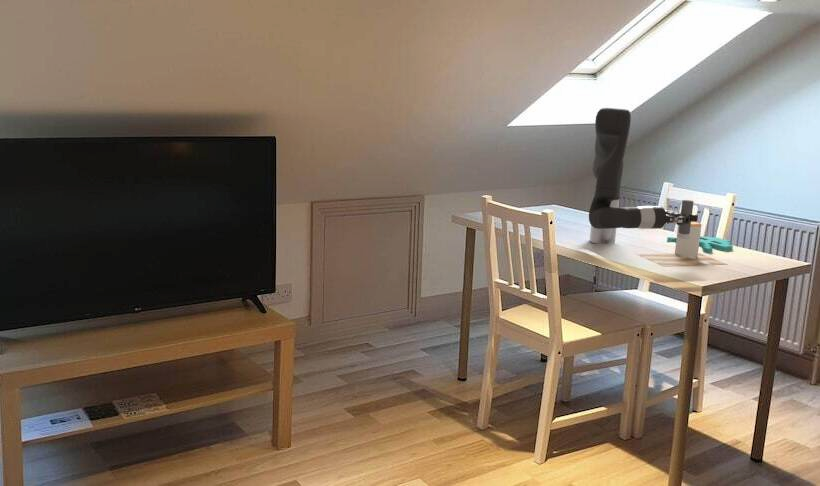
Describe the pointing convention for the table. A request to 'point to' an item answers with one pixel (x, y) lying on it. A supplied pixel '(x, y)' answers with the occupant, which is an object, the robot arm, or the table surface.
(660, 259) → the subfloor panel
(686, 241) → the white orange-topped block
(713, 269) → the table surface
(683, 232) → the dark grey tall block
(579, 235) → the table surface
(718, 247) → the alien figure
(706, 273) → the table surface
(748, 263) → the table surface
